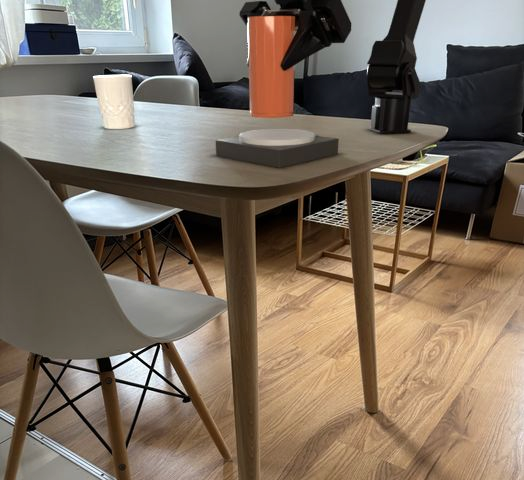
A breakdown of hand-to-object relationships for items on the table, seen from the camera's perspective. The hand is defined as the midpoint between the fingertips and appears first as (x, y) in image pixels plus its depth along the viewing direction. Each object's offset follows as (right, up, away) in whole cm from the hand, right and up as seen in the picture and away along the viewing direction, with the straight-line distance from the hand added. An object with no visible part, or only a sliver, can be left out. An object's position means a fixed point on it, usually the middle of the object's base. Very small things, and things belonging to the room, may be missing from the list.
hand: (265, 67), depth 76 cm
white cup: (-32, +7, +37) cm, 49 cm away
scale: (+2, -11, +6) cm, 13 cm away
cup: (+1, -5, +4) cm, 7 cm away
